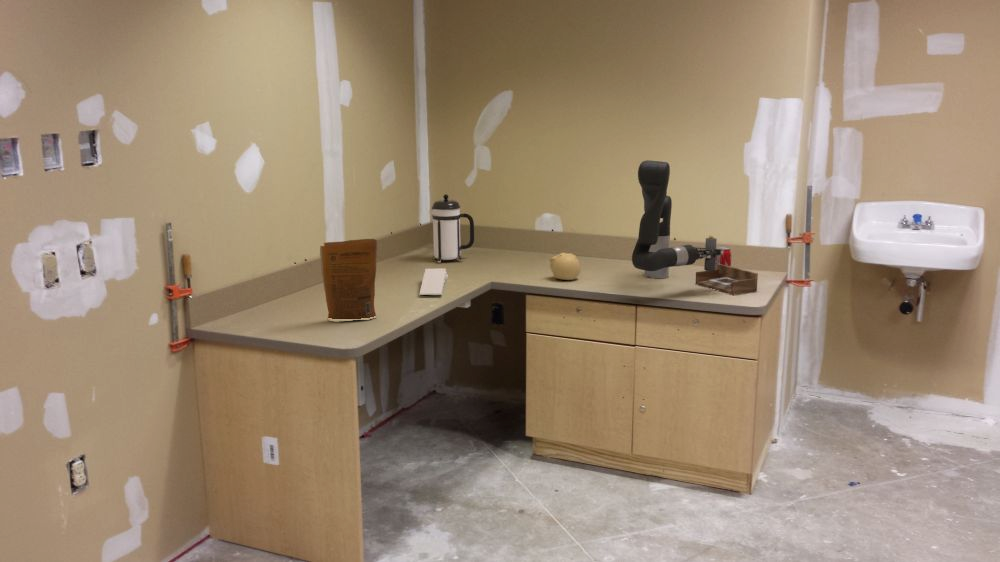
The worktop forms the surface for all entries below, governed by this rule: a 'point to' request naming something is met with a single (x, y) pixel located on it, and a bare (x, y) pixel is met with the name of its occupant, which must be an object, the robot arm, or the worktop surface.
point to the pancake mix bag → (349, 278)
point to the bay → (731, 273)
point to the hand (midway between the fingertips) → (716, 250)
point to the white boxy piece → (433, 282)
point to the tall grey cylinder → (710, 246)
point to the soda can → (723, 257)
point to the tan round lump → (565, 266)
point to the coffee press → (448, 229)
